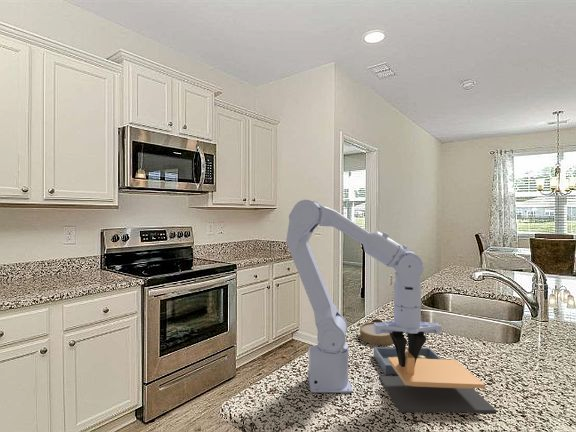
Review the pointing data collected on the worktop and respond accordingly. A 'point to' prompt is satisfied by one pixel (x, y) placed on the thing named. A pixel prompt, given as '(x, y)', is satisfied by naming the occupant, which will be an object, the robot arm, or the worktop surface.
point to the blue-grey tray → (385, 352)
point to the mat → (433, 398)
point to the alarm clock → (374, 334)
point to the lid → (434, 373)
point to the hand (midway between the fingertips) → (406, 364)
